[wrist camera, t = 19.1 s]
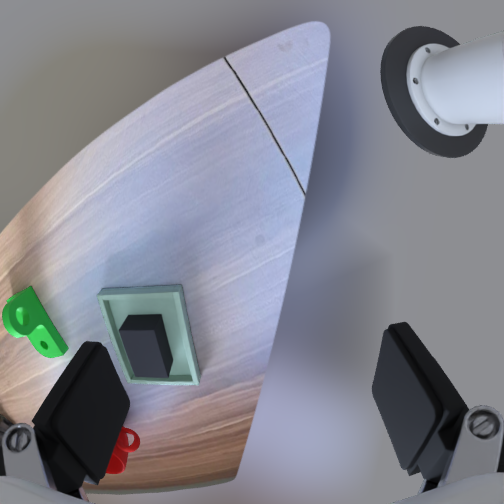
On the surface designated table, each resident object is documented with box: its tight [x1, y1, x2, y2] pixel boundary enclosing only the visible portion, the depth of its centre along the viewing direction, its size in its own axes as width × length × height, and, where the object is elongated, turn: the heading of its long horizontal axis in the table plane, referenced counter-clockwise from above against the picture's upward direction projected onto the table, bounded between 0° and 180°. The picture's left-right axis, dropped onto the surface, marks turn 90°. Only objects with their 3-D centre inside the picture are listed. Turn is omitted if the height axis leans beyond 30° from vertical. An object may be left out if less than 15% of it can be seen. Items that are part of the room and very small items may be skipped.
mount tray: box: [97, 285, 201, 385], centre depth 39 cm, size 12×16×2 cm
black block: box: [119, 314, 173, 378], centre depth 37 cm, size 5×8×4 cm, turn 4°
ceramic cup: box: [106, 426, 140, 474], centre depth 41 cm, size 13×17×10 cm
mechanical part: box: [2, 286, 68, 358], centre depth 35 cm, size 12×6×8 cm, turn 20°
